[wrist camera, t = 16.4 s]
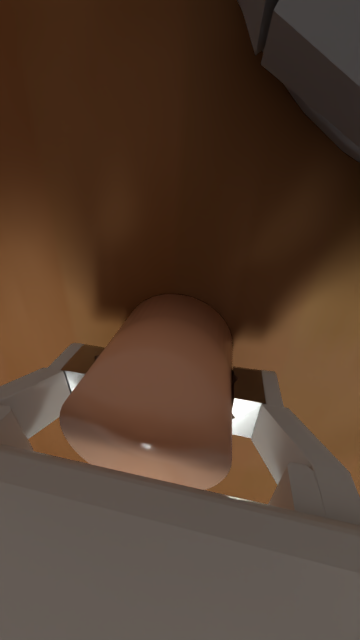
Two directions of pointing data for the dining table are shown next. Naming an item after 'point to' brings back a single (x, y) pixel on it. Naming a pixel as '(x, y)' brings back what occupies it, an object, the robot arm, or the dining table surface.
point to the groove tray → (313, 59)
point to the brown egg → (159, 396)
